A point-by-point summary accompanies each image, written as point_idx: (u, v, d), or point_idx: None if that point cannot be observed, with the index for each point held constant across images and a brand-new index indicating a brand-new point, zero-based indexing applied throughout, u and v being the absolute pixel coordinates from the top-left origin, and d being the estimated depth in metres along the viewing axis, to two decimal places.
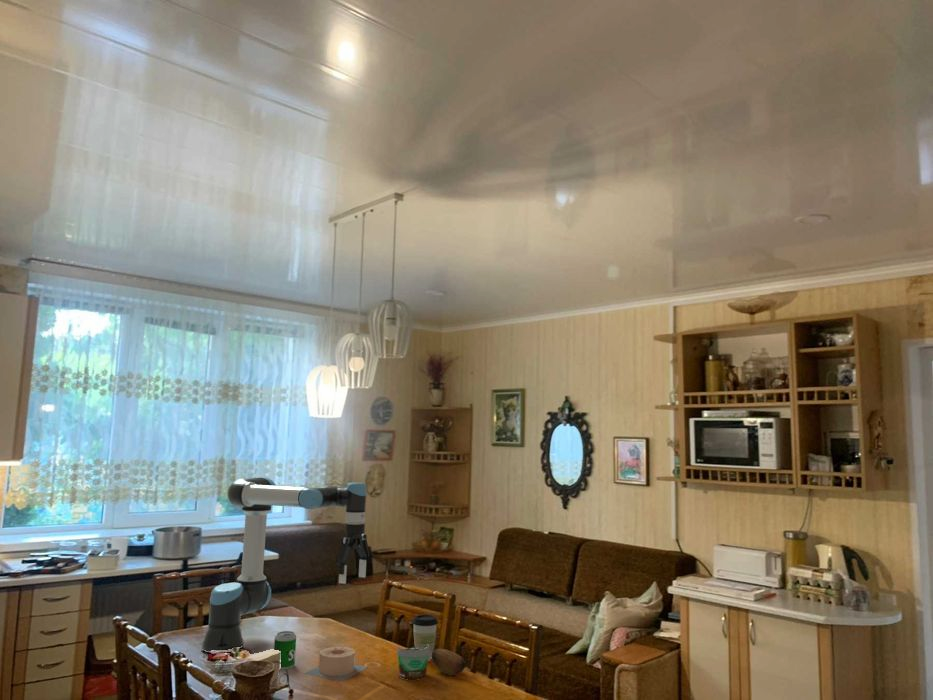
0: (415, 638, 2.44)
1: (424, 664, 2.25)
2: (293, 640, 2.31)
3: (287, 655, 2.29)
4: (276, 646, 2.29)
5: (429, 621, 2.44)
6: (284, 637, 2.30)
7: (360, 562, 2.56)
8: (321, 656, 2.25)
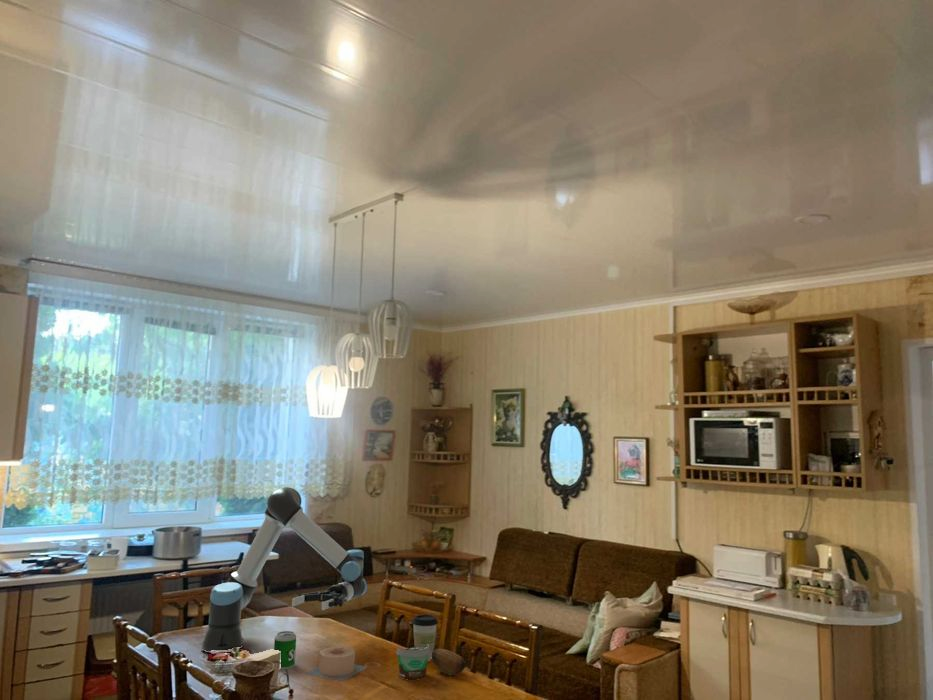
0: (415, 638, 2.44)
1: (424, 664, 2.25)
2: (293, 640, 2.31)
3: (287, 655, 2.29)
4: (276, 646, 2.29)
5: (429, 621, 2.44)
6: (284, 637, 2.30)
7: (302, 598, 2.52)
8: (321, 656, 2.25)
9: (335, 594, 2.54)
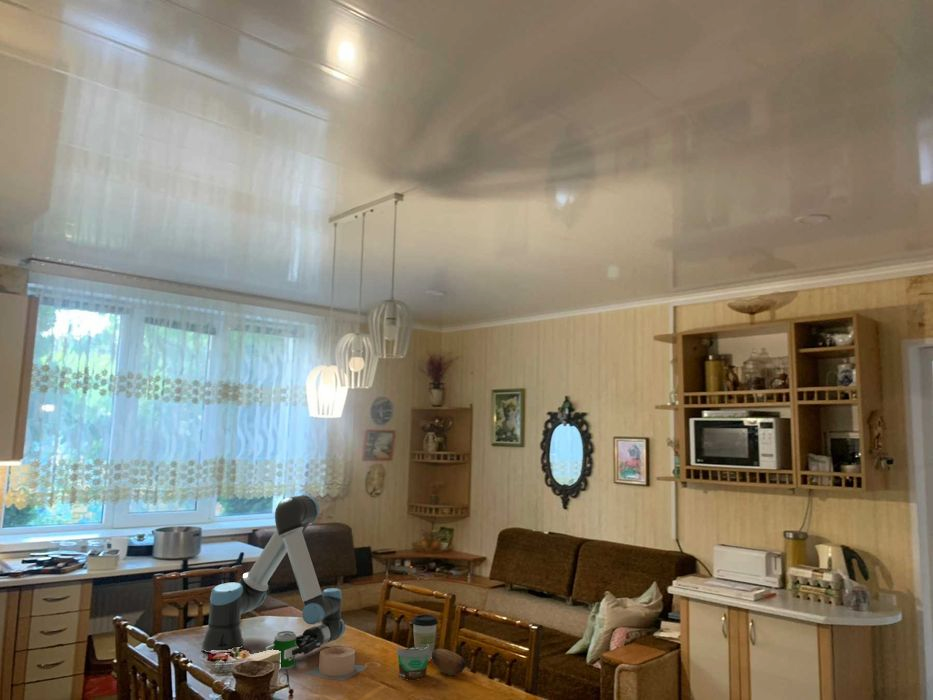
0: (415, 638, 2.44)
1: (424, 664, 2.25)
2: (293, 640, 2.31)
3: None
4: (276, 646, 2.29)
5: (429, 621, 2.44)
6: (284, 637, 2.30)
7: None
8: (321, 656, 2.25)
9: (306, 639, 2.39)
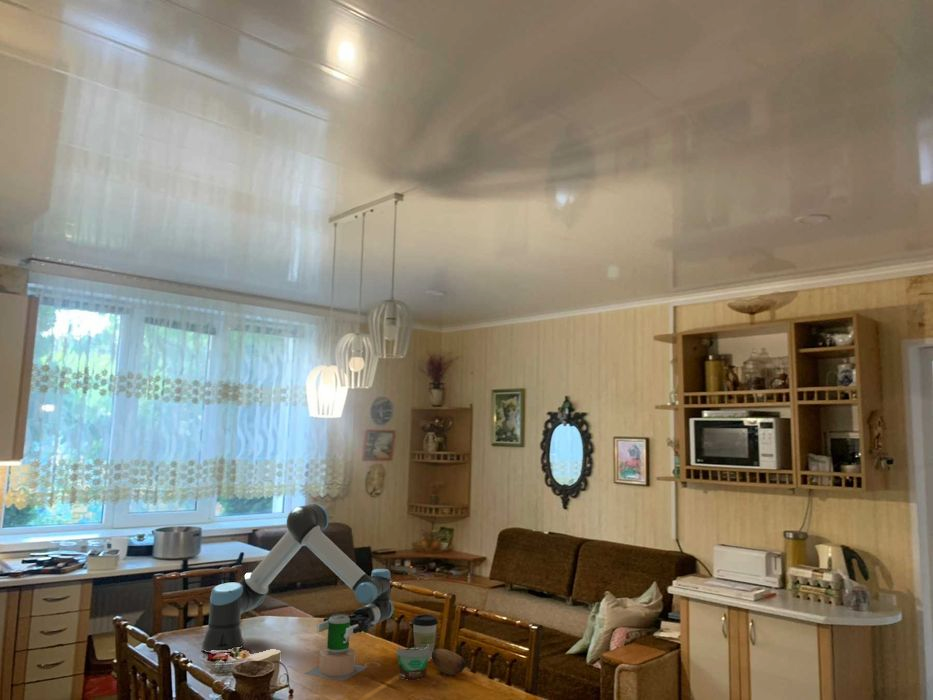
0: (415, 638, 2.44)
1: (424, 664, 2.25)
2: (347, 623, 2.29)
3: (341, 638, 2.27)
4: (331, 628, 2.27)
5: (429, 621, 2.44)
6: (338, 620, 2.28)
7: None
8: (321, 656, 2.25)
9: (361, 618, 2.37)
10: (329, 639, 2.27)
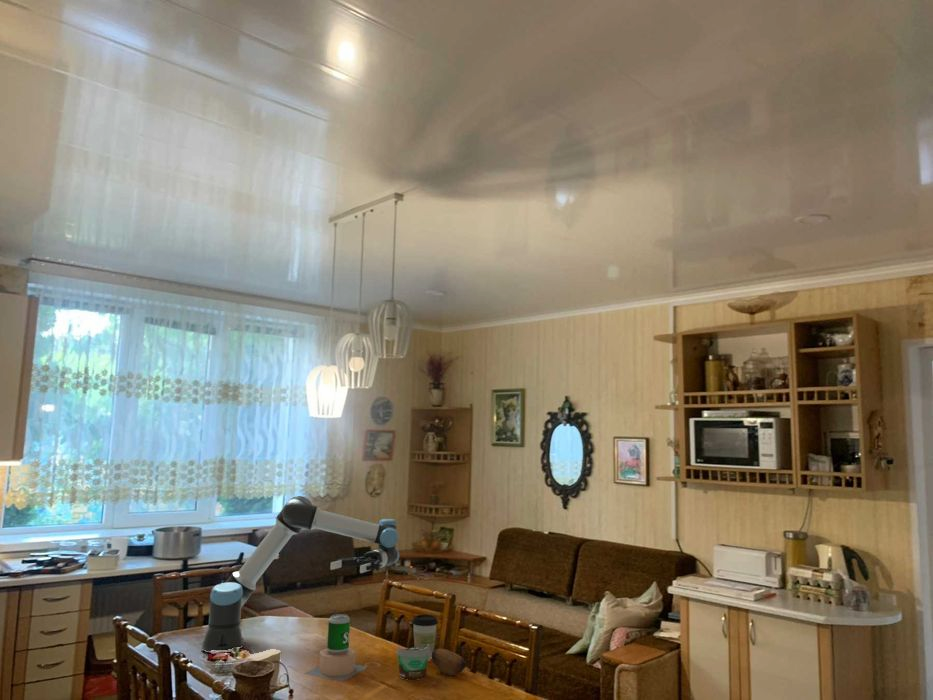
0: (415, 638, 2.44)
1: (424, 664, 2.25)
2: (347, 623, 2.29)
3: (341, 638, 2.27)
4: (331, 628, 2.27)
5: (429, 621, 2.44)
6: (338, 620, 2.28)
7: (340, 562, 2.60)
8: (321, 656, 2.25)
9: (371, 559, 2.63)
10: (329, 639, 2.27)
